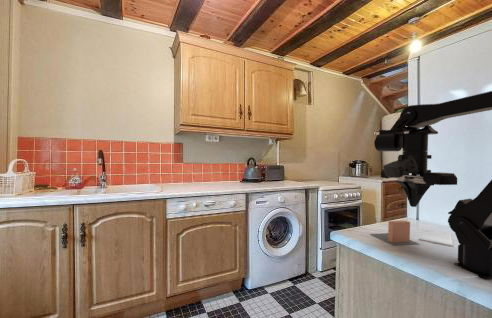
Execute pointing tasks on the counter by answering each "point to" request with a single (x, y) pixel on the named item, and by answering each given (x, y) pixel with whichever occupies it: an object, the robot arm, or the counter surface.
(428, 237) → the hard drive
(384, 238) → the mat
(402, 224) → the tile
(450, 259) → the counter surface
